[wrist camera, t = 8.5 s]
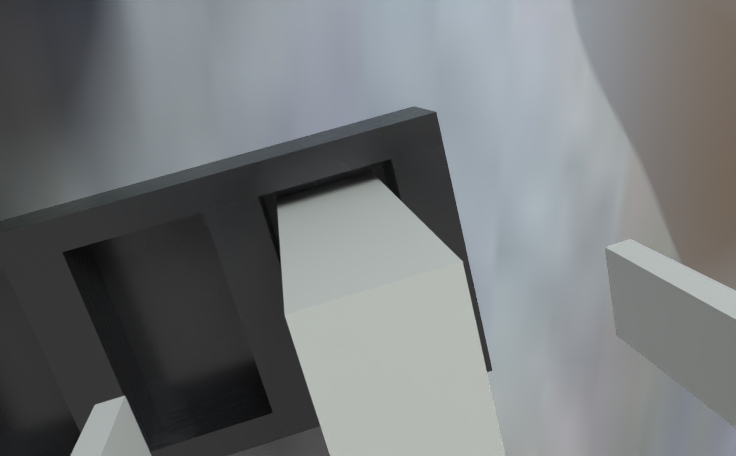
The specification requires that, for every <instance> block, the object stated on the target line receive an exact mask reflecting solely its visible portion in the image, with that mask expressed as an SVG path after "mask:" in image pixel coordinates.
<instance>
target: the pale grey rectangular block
mask: <svg viewBox="0 0 736 456" xmlns="http://www.w3.org/2000/svg"><path fill="white" fill-rule="evenodd" d="M277 211H278V226H279V241H280V255H281V270H282V284H283V299H284V314H285V318H286V321H287V324H288V327H289V330H290V333H291V337H292V340H293V343H294V346H295V349H296V352H297V355H298V358H299V361H300V364H301V368H302V371H303V374H304V377H305V380H306V383H307V386H308V389H309V392H310V395H311V398H312V402H313V405H314V408H315V411H316V414H317V417H318V420H319V423H320V426H321V429H322V433H323V436H324V439H325V442H326V445H327V448H328V451H329V454H330V456H505V452H504V447H503V443H502V438H501V433H500V429H499V424H498V420H497V415H496V411H495V406H494V402H493V397H492V393H491V388H490V384H489V379H488V374H487V370H486V365H485V361H484V356H483V352H482V347H481V343H480V338H479V334H478V329H477V324H476V320H475V315H474V311H473V306H472V302H471V297H470V293H469V288H468V284H467V279H466V274H465V270H464V265H463V261H462V260H461V259H460V258H459V257H458V256H457V255H456V254H455V253H454V252H453V251H452V250H451V249H449V248H448V247H447V246H446V245H445V244H444V243H443V242H442V241H441V240H440V239H439V238H438V237H437V236H436V235H435V234H434V233H433V232H432V231H431V230H430V229H429V228H428V227H427V226H426V225H425V224H424V223H423V222H422V221H421V220H420V219H419V218H418V217H417V216H416V215H415V214H414V213H413V212H412V211H411V210H410V209H409V208H408V207H407V206H406V205H405V204H404V203H403V202H402V201H401V200H400V199H399V198H398V197H396V196H395V195H394V194H393V193H392V192H391V191H390V190H389V189H388V188H387V187H386V186H385V185H384V184H383V183H382V182H381V181H380V180H379V179H378V178H377V177H376V176H375V175H374V174H373V173H372V172H369V173H365V174H362V175H358V176H355V177H351V178H348V179H344V180H341V181H337V182H334V183H330V184H327V185H323V186H320V187H316V188H313V189H309V190H306V191H302V192H299V193H295V194H292V195H288V196H285V197H281V198H278V199H277Z"/></svg>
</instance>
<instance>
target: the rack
mask: <svg viewBox="0 0 736 456" xmlns="http://www.w3.org/2000/svg"><path fill="white" fill-rule="evenodd" d="M369 172H372V173H373V174H374V175H375V176H376V177H377V178H378V179H379V180H380V181H381V182H382V183H383V184H384V185H385V186H386V187H387V188H388V189H389V190H390V191H391V192H392V193H393V194H394V195H395V196H396V197H398V198H399V199H400V200H401V201H402V202H403V203H404V204H405V205H406V206H407V207H408V208H409V209H410V210H411V211H412V212H413V213H414V214H415V215H416V216H417V217H418V218H419V219H420V220H421V221H422V222H423V223H424V224H425V225H426V226H427V227H428V228H429V229H430V230H431V231H432V232H433V233H434V234H435V235H436V236H437V237H438V238H439V239H440V240H441V241H442V242H443V243H444V244H445V245H446V246H447V247H448V248H449V249H451V250H452V251H453V252H454V253H455V254H456V255H457V256H458V257H459V258H460V259H461V260H462V261H463V265H464V270H465V274H466V279H467V284H468V288H469V293H470V297H471V302H472V306H473V311H474V315H475V320H476V324H477V329H478V334H479V338H480V343H481V347H482V352H483V356H484V361H485V365H486V370H487V372H489V371H492V367H491V362H490V358H489V353H488V348H487V344H486V339H485V335H484V330H483V325H482V321H481V316H480V312H479V307H478V302H477V298H476V293H475V289H474V284H473V279H472V275H471V270H470V266H469V261H468V256H467V252H466V247H465V243H464V238H463V233H462V229H461V224H460V220H459V215H458V210H457V206H456V201H455V197H454V192H453V187H452V183H451V178H450V174H449V169H448V164H447V160H446V155H445V151H444V146H443V141H442V137H441V132H440V128H439V123H438V118H437V114H436V112H434V111H430V110H426V109H422V108H418V107H411V108H407V109H403V110H400V111H396V112H393V113H389V114H385V115H382V116H378V117H374V118H371V119H367V120H364V121H360V122H356V123H353V124H349V125H346V126H342V127H338V128H335V129H331V130H328V131H324V132H320V133H317V134H313V135H310V136H306V137H302V138H299V139H295V140H292V141H288V142H284V143H281V144H277V145H273V146H270V147H266V148H263V149H259V150H255V151H252V152H248V153H245V154H241V155H237V156H234V157H230V158H227V159H223V160H219V161H216V162H212V163H209V164H205V165H201V166H198V167H194V168H190V169H187V170H183V171H180V172H176V173H172V174H169V175H165V176H162V177H158V178H154V179H151V180H147V181H144V182H140V183H136V184H133V185H129V186H126V187H122V188H118V189H115V190H111V191H107V192H104V193H100V194H97V195H93V196H89V197H86V198H82V199H79V200H75V201H71V202H68V203H64V204H61V205H57V206H53V207H50V208H46V209H43V210H39V211H35V212H32V213H28V214H24V215H21V216H17V217H14V218H10V219H6V220H3V221H0V456H70V455H71V453H72V451H73V449H74V447H75V445H76V443H77V441H78V439H79V437H80V434H81V432H82V430H83V428H84V426H85V424H86V422H87V420H88V418H89V416H90V414H91V412H92V409H93V407H94V405H96V404H99V403H102V402H106V401H109V400H112V399H115V398H119V397H122V396H125V397H126V399H127V401H128V403H129V406H130V408H131V410H132V412H133V415H134V417H135V419H136V422H137V424H138V426H139V428H140V431H141V433H142V435H143V437H144V440H145V442H146V444H147V447H148V449H149V451H150V453H151V456H227V455H230V454H233V453H236V452H240V451H243V450H246V449H249V448H252V447H255V446H258V445H261V444H264V443H268V442H271V441H274V440H277V439H280V438H283V437H286V436H289V435H292V434H296V433H299V432H302V431H305V430H308V429H311V428H314V427H317V426H320V423H319V420H318V417H317V414H316V411H315V408H314V405H313V402H312V398H311V395H310V392H309V389H308V386H307V383H306V380H305V377H304V374H303V371H302V368H301V364H300V361H299V358H298V355H297V352H296V349H295V346H294V343H293V340H292V337H291V333H290V330H289V327H288V324H287V321H286V318H285V314H284V299H283V284H282V270H281V255H280V241H279V226H278V211H277V199H278V198H281V197H285V196H288V195H292V194H295V193H299V192H302V191H306V190H309V189H313V188H316V187H320V186H323V185H327V184H330V183H334V182H337V181H341V180H344V179H348V178H351V177H355V176H358V175H362V174H365V173H369Z"/></svg>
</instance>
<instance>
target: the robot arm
mask: <svg viewBox="0 0 736 456" xmlns="http://www.w3.org/2000/svg"><path fill="white" fill-rule="evenodd" d="M605 252H606V260H607V267H608V275H609V282H610V290H611V297H612V305H613V313H614V320H615V328H616V335H617V336H618V337H620V338H621V339H622V340H624V341H625V342H626V343H627V344H629V345H630V346H631V347H632V348H634V349H635V350H636V351H638V352H639V353H640V354H641V355H643V356H644V357H645V358H647V359H648V360H649V361H650V362H652V363H653V364H654V365H655V366H657V367H658V368H659V369H661V370H662V371H663V372H664V373H666V374H667V375H668V376H670V377H671V378H672V379H673V380H675V381H676V382H677V383H679V384H680V385H681V386H682V387H684V388H685V389H686V390H687V391H689V392H690V393H691V394H693V395H694V396H695V397H696V398H698V399H699V400H700V401H702V402H703V403H704V404H705V405H707V406H708V407H709V408H710V409H712V410H713V411H714V412H716V413H717V414H718V415H719V416H721V417H722V418H723V419H725V420H726V421H727V422H728V423H730V424H731V425H732V426H734V427H735V428H736V291H735V290H733V289H731V288H729V287H727V286H725V285H723V284H721V283H719V282H717V281H715V280H713V279H711V278H709V277H707V276H705V275H702V274H701V273H699V272H697V271H695V270H692V269H690V268H688V267H686V266H684V265H682V264H680V263H678V262H676V261H674V260H672V259H670V258H668V257H666V256H664V255H662V254H660V253H658V252H656V251H654V250H652V249H650V248H648V247H646V246H644V245H642V244H640V243H638V242H636V241H634V240H632V239H629V240H626V241H623V242H620V243H616V244H613V245H610V246H607V247H605ZM70 456H151V453H150V451H149V449H148V447H147V444H146V442H145V440H144V437H143V435H142V433H141V431H140V428H139V426H138V424H137V422H136V419H135V417H134V415H133V412H132V410H131V408H130V406H129V403H128V401H127V399H126V397H125V396H122V397H119V398H115V399H112V400H109V401H106V402H102V403H99V404H96V405H94V407H93V409H92V412H91V414H90V416H89V418H88V420H87V422H86V424H85V426H84V428H83V430H82V432H81V434H80V437H79V439H78V441H77V443H76V445H75V447H74V449H73V451H72V453H71V455H70Z"/></svg>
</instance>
